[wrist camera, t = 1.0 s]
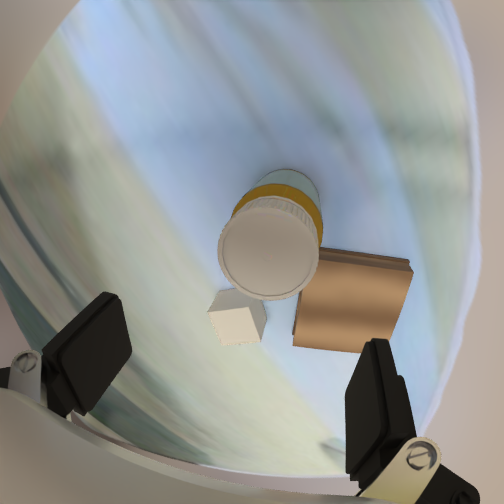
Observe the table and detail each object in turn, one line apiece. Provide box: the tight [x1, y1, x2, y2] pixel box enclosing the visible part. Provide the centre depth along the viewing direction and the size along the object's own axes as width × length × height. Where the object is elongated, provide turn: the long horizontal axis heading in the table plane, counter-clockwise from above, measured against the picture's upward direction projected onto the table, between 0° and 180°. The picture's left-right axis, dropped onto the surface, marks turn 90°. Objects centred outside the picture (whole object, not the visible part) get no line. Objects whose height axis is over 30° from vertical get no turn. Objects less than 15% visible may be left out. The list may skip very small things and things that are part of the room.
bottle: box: [218, 169, 323, 301], centre depth 24 cm, size 7×7×15 cm
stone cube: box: [207, 288, 267, 345], centre depth 35 cm, size 5×5×5 cm
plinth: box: [292, 247, 414, 353], centre depth 33 cm, size 12×12×3 cm
